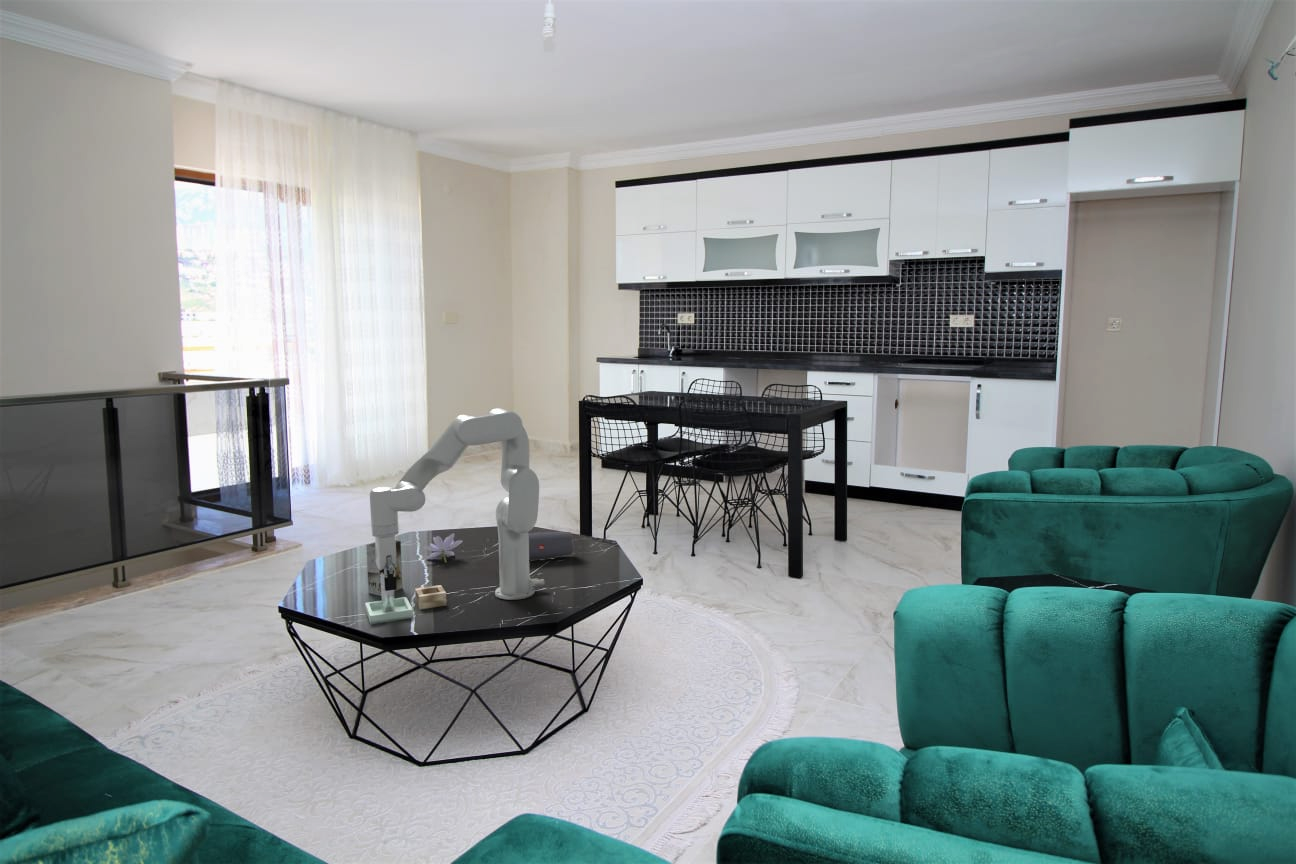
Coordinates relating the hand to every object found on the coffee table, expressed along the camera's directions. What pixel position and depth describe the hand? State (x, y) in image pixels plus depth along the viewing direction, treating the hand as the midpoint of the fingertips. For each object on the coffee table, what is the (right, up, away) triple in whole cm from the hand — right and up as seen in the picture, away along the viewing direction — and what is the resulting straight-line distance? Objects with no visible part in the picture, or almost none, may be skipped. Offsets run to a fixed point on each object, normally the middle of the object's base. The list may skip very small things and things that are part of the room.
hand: (388, 585), depth 235 cm
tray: (0, -9, +1) cm, 9 cm away
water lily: (+2, -2, +56) cm, 56 cm away
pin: (0, -8, +1) cm, 8 cm away
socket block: (+10, -8, +10) cm, 16 cm away
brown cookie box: (-8, -6, +22) cm, 24 cm away
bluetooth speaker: (+38, -2, +56) cm, 67 cm away
